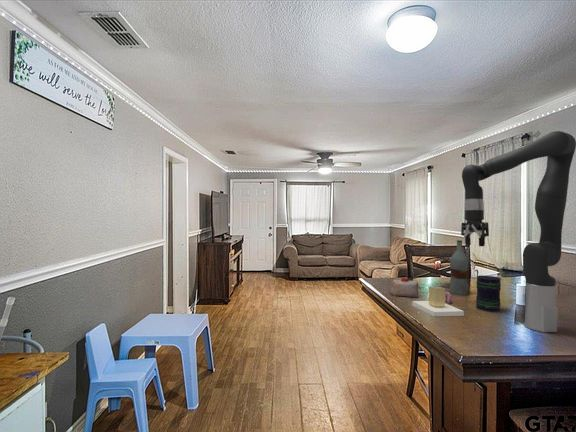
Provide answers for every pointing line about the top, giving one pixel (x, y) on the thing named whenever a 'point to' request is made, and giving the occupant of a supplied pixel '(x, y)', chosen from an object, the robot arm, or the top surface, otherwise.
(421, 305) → the base board
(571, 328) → the top surface
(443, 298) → the gold rectangular block
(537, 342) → the top surface
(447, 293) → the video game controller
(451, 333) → the top surface
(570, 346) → the top surface
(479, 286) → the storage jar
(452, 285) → the bottle
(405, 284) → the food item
